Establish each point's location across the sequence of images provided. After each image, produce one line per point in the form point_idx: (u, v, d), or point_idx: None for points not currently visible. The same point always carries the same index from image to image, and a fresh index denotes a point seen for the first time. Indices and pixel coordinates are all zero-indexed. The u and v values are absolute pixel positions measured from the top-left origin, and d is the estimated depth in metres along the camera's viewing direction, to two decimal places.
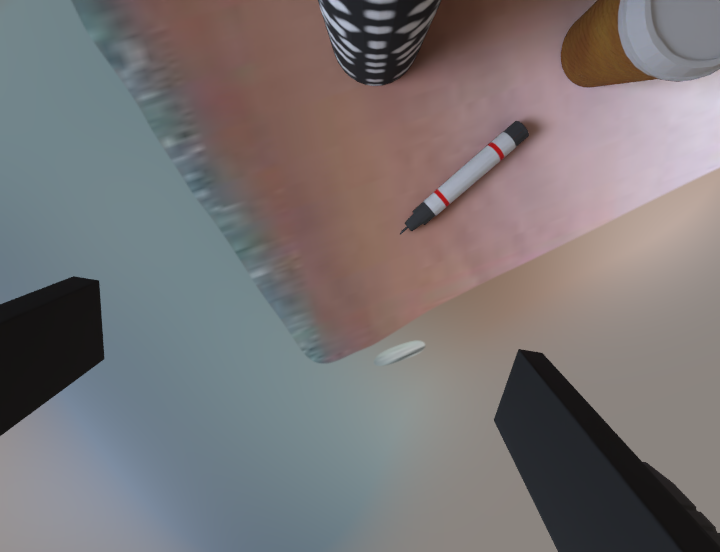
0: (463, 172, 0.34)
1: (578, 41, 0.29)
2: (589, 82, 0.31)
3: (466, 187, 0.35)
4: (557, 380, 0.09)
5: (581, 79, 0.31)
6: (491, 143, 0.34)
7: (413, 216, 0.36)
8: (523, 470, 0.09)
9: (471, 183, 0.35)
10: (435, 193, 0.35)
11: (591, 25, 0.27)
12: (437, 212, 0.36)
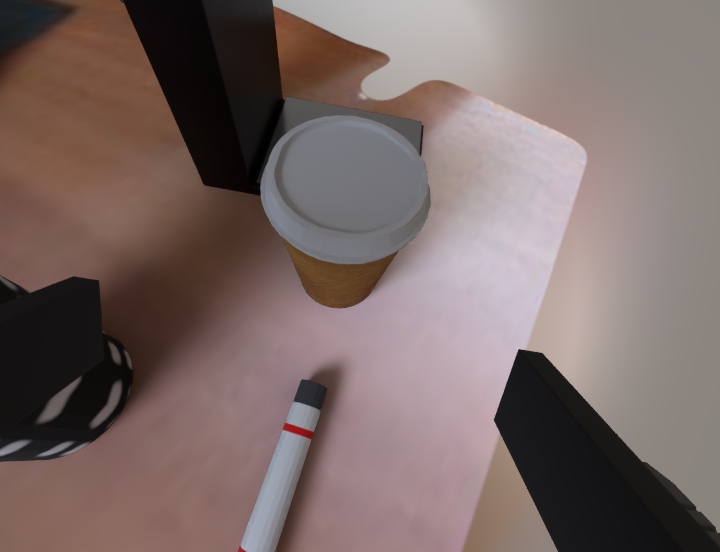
0: (264, 491, 0.20)
1: (301, 275, 0.25)
2: (346, 300, 0.26)
3: (282, 511, 0.20)
4: (557, 380, 0.09)
5: (338, 301, 0.26)
6: (285, 424, 0.23)
7: None
8: (523, 470, 0.09)
9: (286, 499, 0.20)
10: None
11: (291, 257, 0.23)
12: None
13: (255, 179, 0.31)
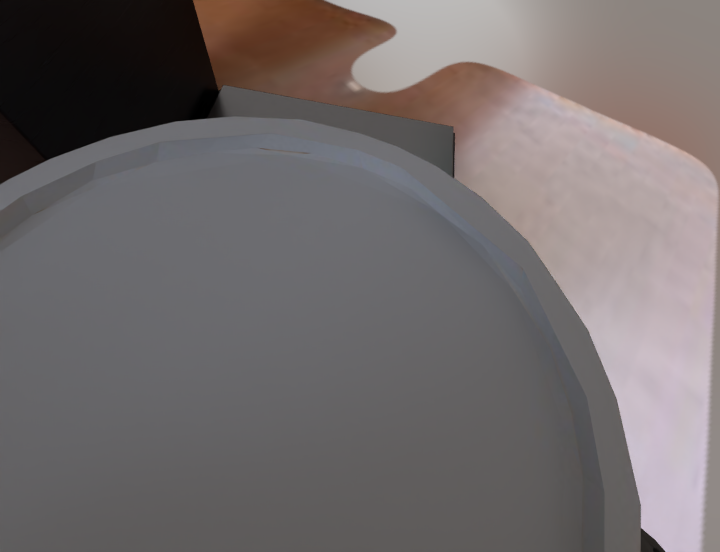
0: None
1: None
2: None
3: None
4: None
5: None
6: None
7: None
8: None
9: None
10: None
11: None
12: None
13: None
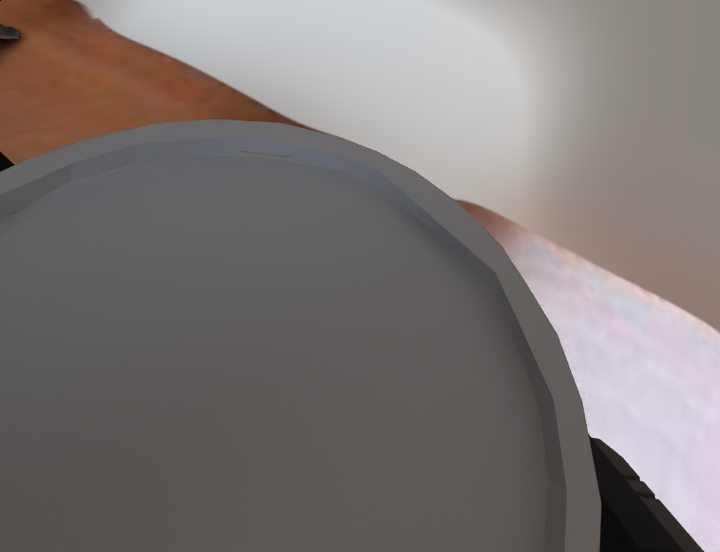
0: None
1: None
2: None
3: None
4: None
5: None
6: None
7: None
8: None
9: None
10: None
11: None
12: None
13: None
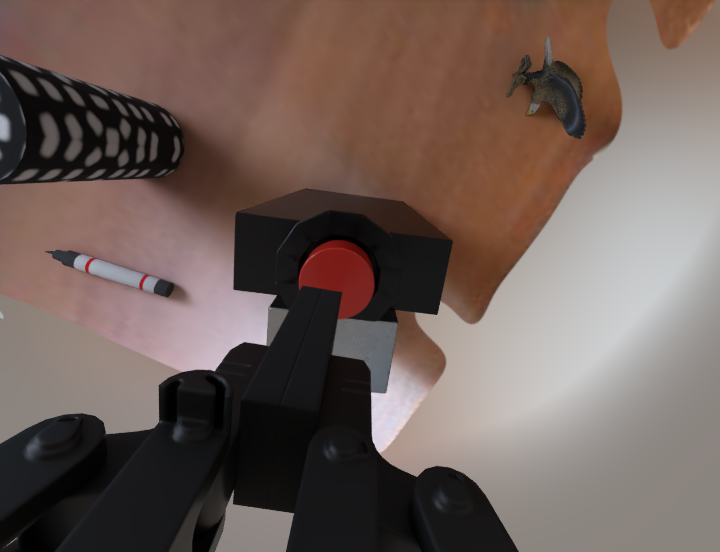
0: (114, 270, 0.43)
1: None
2: None
3: (107, 278, 0.44)
4: (329, 306, 0.11)
5: None
6: (146, 276, 0.44)
7: (63, 253, 0.43)
8: None
9: (112, 280, 0.44)
10: (89, 259, 0.43)
11: None
12: (77, 269, 0.43)
13: None
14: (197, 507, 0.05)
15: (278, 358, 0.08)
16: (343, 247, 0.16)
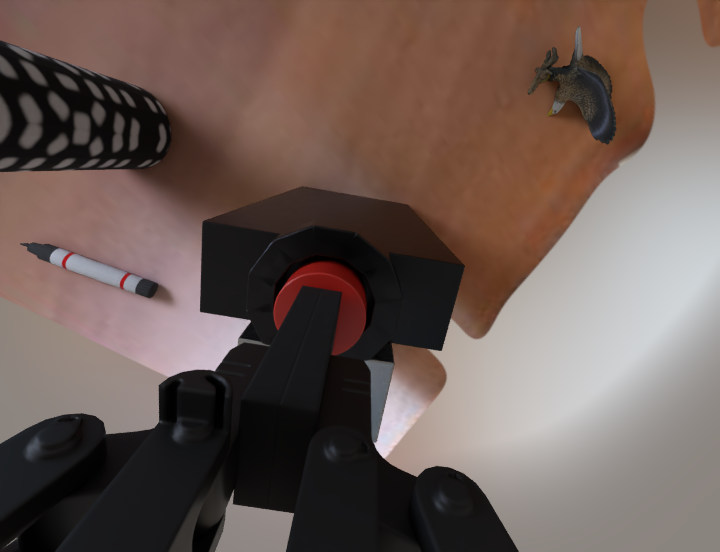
0: (93, 267, 0.40)
1: None
2: None
3: (86, 275, 0.41)
4: (329, 306, 0.11)
5: None
6: (128, 275, 0.41)
7: (39, 247, 0.40)
8: None
9: (91, 277, 0.41)
10: (66, 254, 0.40)
11: None
12: (54, 264, 0.40)
13: None
14: (197, 507, 0.05)
15: (278, 358, 0.08)
16: (329, 272, 0.13)
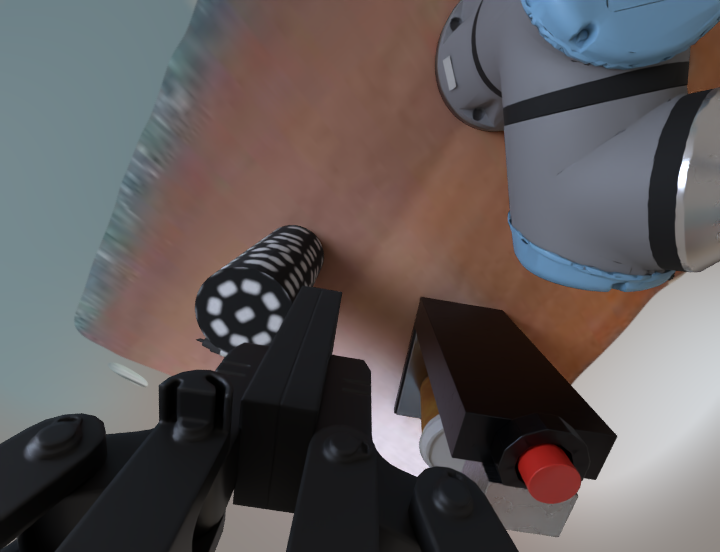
0: None
1: None
2: None
3: None
4: (329, 306, 0.11)
5: None
6: None
7: None
8: None
9: None
10: None
11: None
12: (221, 355, 0.51)
13: None
14: (197, 507, 0.05)
15: (278, 358, 0.08)
16: (563, 462, 0.24)
